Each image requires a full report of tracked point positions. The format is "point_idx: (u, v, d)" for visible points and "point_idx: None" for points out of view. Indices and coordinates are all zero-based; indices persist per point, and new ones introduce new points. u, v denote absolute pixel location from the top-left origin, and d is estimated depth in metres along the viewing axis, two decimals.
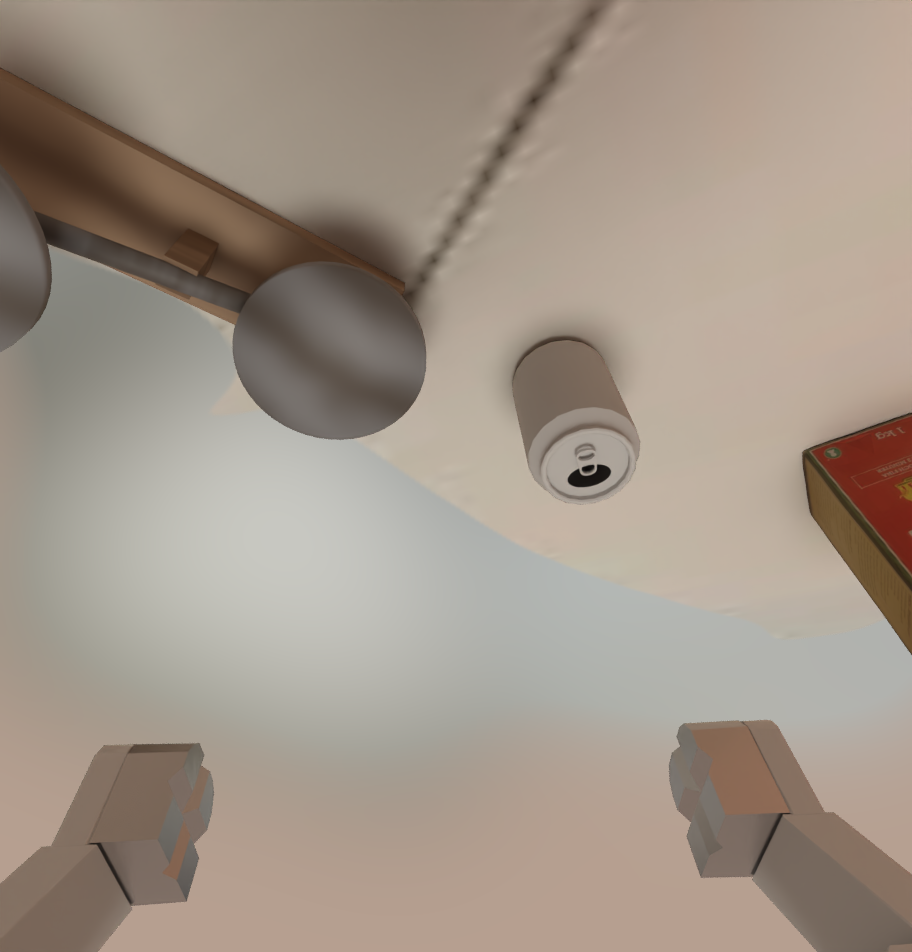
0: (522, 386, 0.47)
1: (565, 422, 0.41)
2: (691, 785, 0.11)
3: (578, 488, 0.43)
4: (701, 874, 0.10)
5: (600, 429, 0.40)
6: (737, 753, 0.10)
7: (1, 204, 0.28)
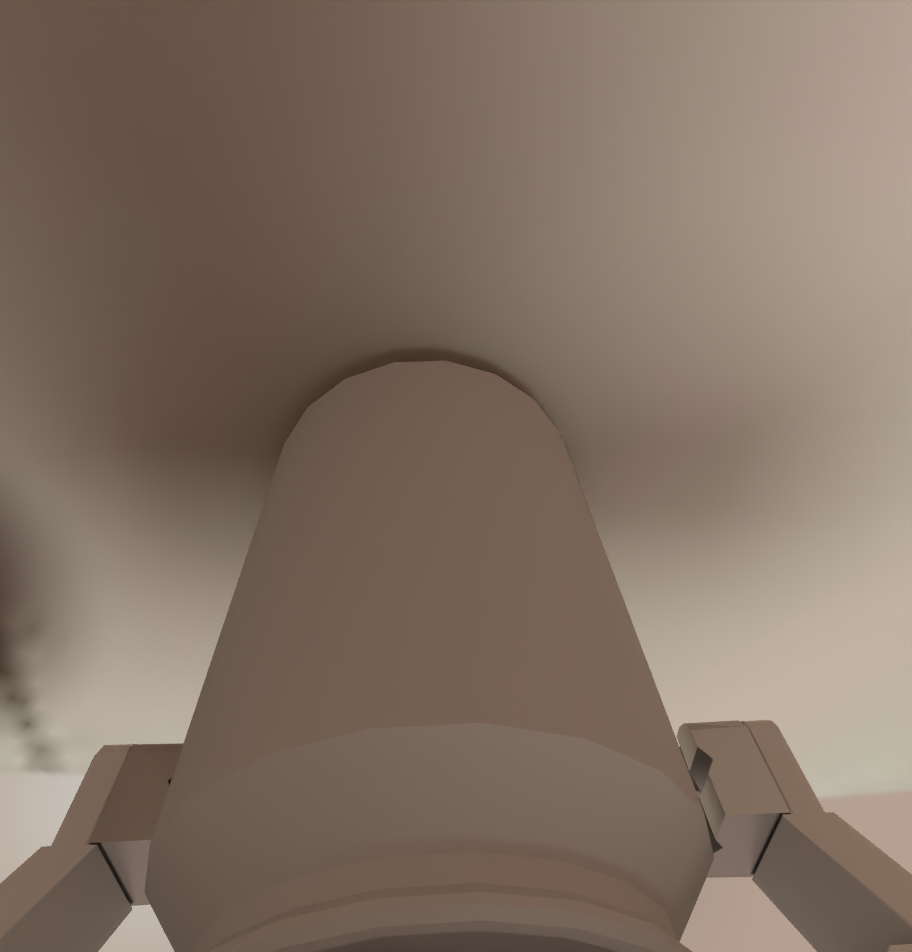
0: None
1: (178, 881, 0.07)
2: None
3: None
4: None
5: (298, 936, 0.06)
6: (736, 753, 0.10)
7: None
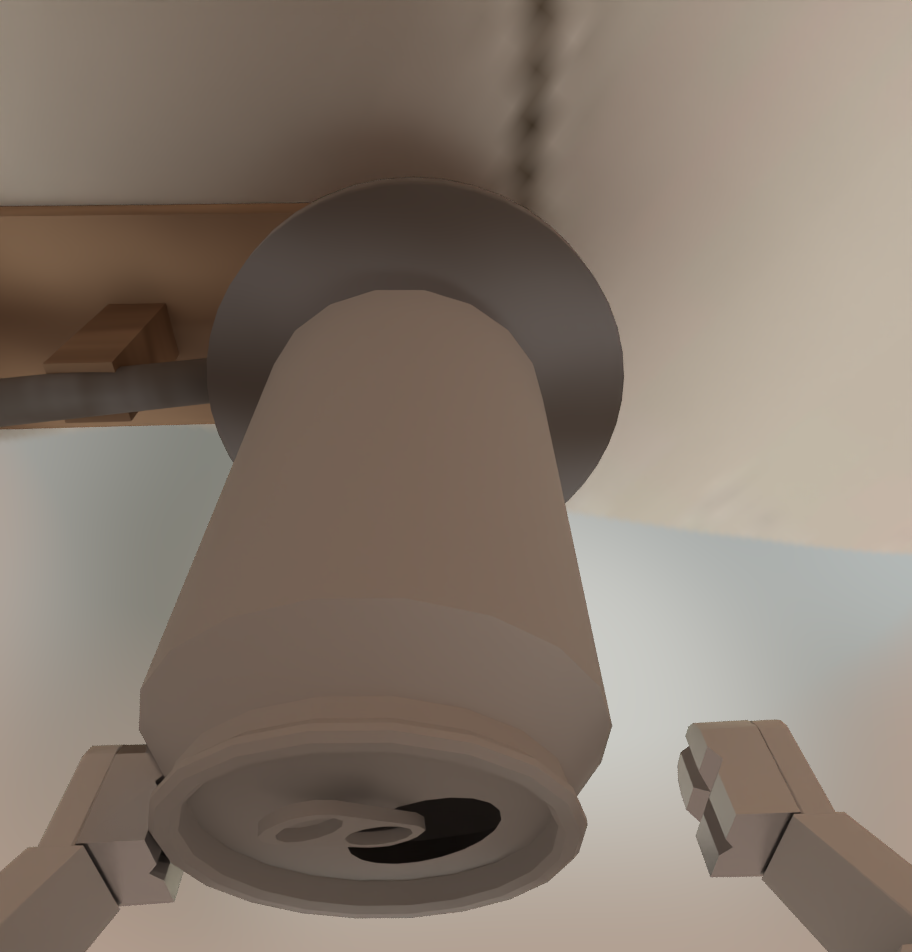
0: None
1: (162, 716, 0.09)
2: (700, 785, 0.11)
3: (423, 863, 0.11)
4: (711, 873, 0.10)
5: (248, 748, 0.08)
6: (746, 753, 0.10)
7: None
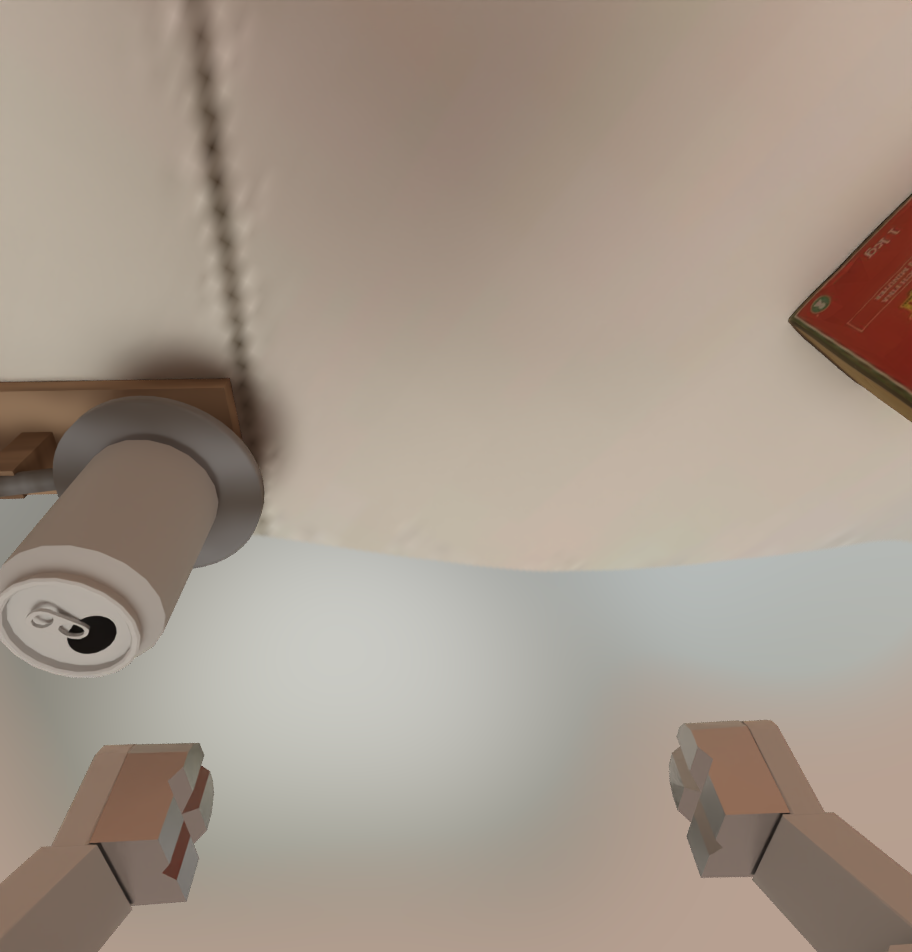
0: None
1: None
2: (690, 785, 0.11)
3: (99, 653, 0.30)
4: (701, 874, 0.10)
5: (16, 584, 0.27)
6: (736, 753, 0.10)
7: None
